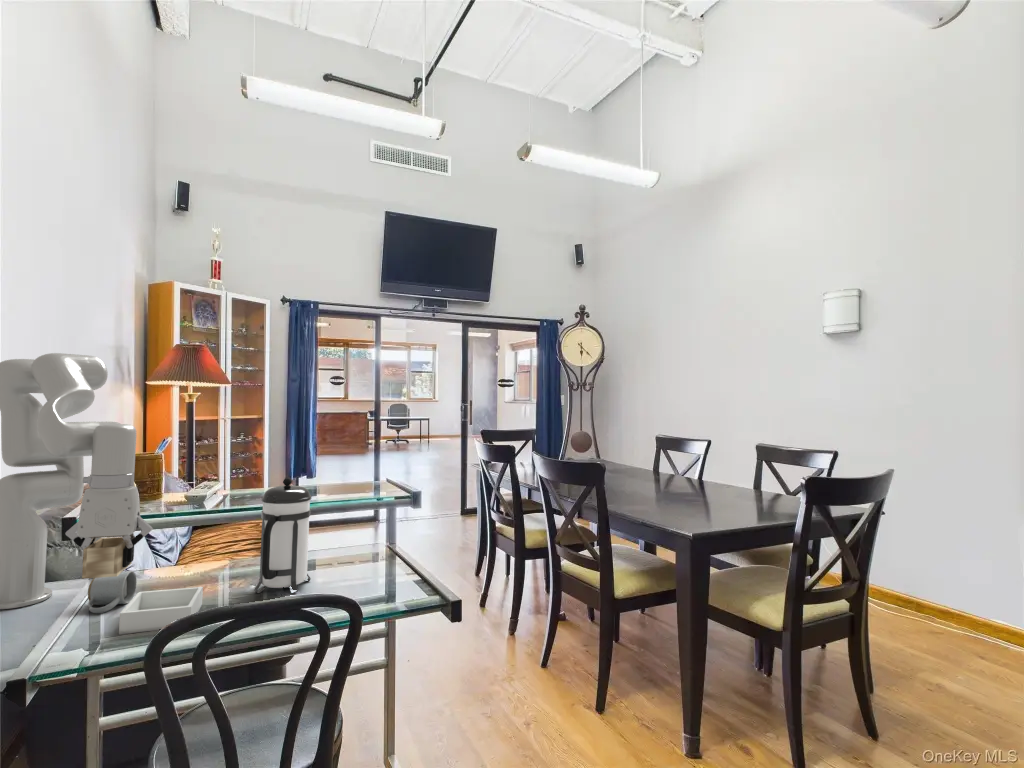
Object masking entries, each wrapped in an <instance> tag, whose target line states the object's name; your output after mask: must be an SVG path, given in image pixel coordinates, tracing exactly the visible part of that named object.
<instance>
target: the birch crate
mask: <svg viewBox="0 0 1024 768" xmlns="http://www.w3.org/2000/svg"><path fill="white" fill-rule="evenodd" d="M124 548H125V542H124V540H123V538H122V537H104V538H98V539H96V540H95V541H94V543H92V544H91V545H89V546H88V547H86V548H84V551H83V550H82V573H81V579H93V578H101V577H116V576H118V575H119V574H120V573H121V572H125V570H126V569H127V568H128V567H129V566H131V564H132V563H133V561H132V562H131V563H130V564H129V565H128V566H127V567H122V564H123V549H124Z"/></svg>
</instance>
